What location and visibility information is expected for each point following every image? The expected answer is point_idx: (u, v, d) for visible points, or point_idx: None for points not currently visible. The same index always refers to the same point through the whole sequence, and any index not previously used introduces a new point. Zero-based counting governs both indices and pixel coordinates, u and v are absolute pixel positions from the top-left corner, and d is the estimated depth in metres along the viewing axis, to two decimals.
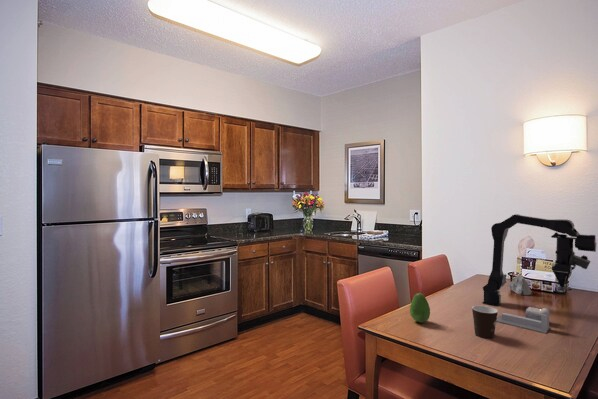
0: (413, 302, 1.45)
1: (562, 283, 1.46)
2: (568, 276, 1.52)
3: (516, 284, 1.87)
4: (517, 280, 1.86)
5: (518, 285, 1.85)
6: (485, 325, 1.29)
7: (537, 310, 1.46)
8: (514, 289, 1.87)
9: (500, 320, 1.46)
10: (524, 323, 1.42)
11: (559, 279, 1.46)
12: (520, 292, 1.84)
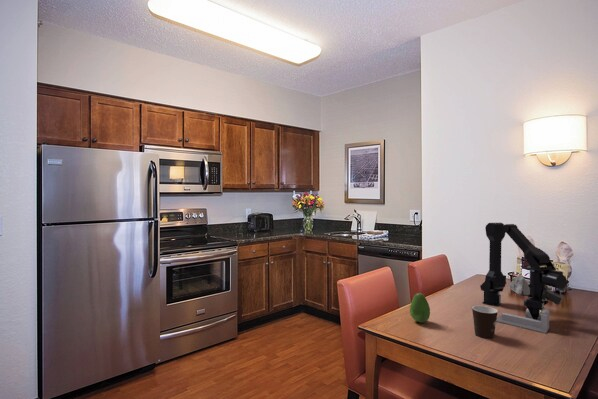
0: (413, 302, 1.45)
1: (535, 318, 1.43)
2: None
3: (516, 284, 1.87)
4: (517, 280, 1.86)
5: (519, 285, 1.85)
6: (485, 325, 1.29)
7: None
8: (514, 289, 1.87)
9: (500, 320, 1.46)
10: (524, 323, 1.42)
11: (532, 313, 1.44)
12: (520, 292, 1.84)
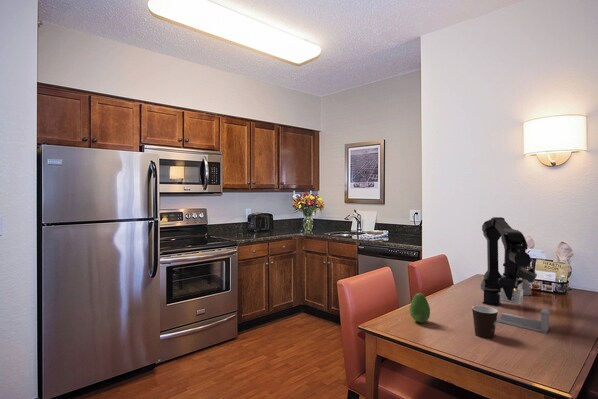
0: (413, 302, 1.45)
1: (509, 296, 1.43)
2: None
3: None
4: None
5: (519, 285, 1.85)
6: (485, 325, 1.29)
7: None
8: None
9: (500, 320, 1.46)
10: (524, 323, 1.42)
11: (506, 292, 1.43)
12: None
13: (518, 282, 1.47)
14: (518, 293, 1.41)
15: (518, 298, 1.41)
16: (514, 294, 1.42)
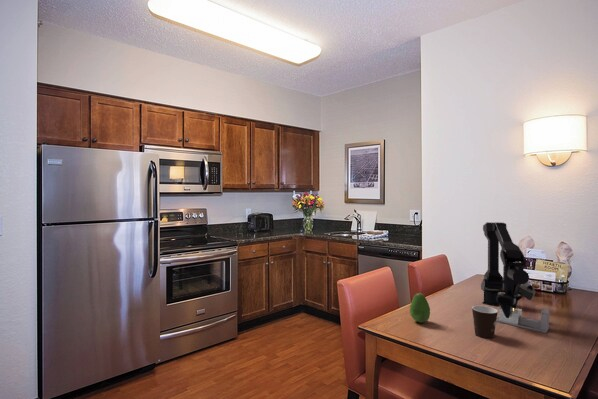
0: (413, 302, 1.45)
1: (507, 314, 1.42)
2: (516, 305, 1.48)
3: None
4: None
5: None
6: (485, 325, 1.29)
7: None
8: None
9: None
10: (524, 323, 1.42)
11: (504, 310, 1.42)
12: None
13: (518, 298, 1.48)
14: (516, 313, 1.42)
15: (516, 318, 1.42)
16: (512, 314, 1.43)
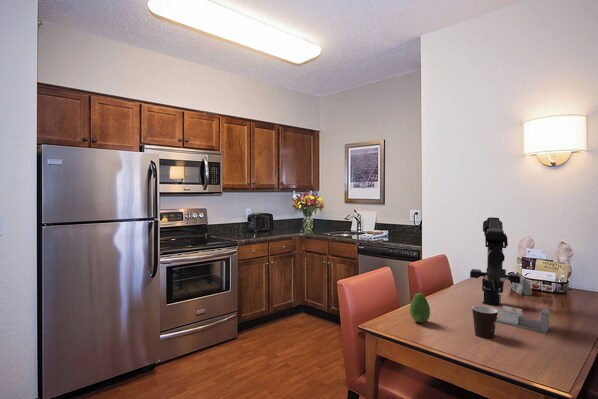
0: (413, 302, 1.45)
1: (492, 291, 1.50)
2: (495, 289, 1.49)
3: (517, 284, 1.87)
4: None
5: (519, 285, 1.85)
6: (485, 325, 1.29)
7: (510, 309, 1.46)
8: (515, 289, 1.87)
9: None
10: (524, 323, 1.42)
11: None
12: (521, 292, 1.84)
13: (496, 282, 1.48)
14: (516, 313, 1.42)
15: (516, 318, 1.42)
16: (512, 314, 1.43)
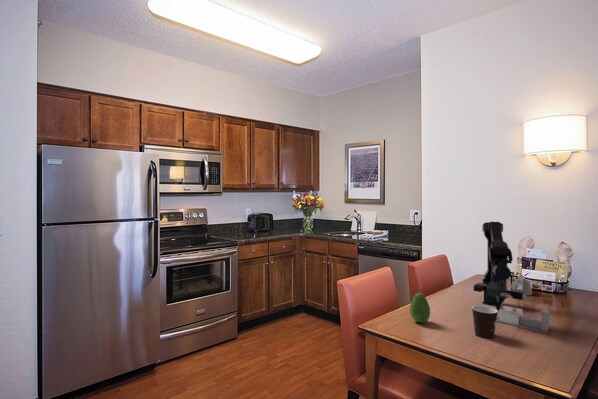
0: (413, 302, 1.45)
1: None
2: (498, 304, 1.48)
3: (517, 284, 1.87)
4: (518, 280, 1.86)
5: (519, 285, 1.85)
6: (485, 325, 1.29)
7: (511, 309, 1.46)
8: None
9: None
10: (524, 323, 1.42)
11: None
12: None
13: None
14: (517, 313, 1.42)
15: (517, 318, 1.42)
16: (513, 314, 1.43)
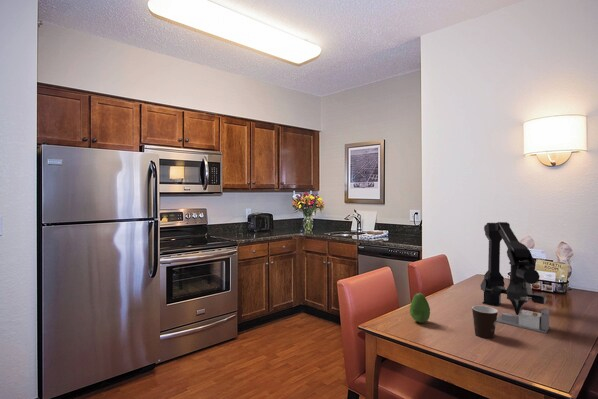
0: (413, 302, 1.45)
1: None
2: (517, 308, 1.43)
3: None
4: None
5: None
6: (485, 325, 1.29)
7: (530, 313, 1.41)
8: None
9: (500, 320, 1.46)
10: None
11: None
12: None
13: None
14: (537, 318, 1.37)
15: (537, 323, 1.37)
16: (533, 319, 1.38)
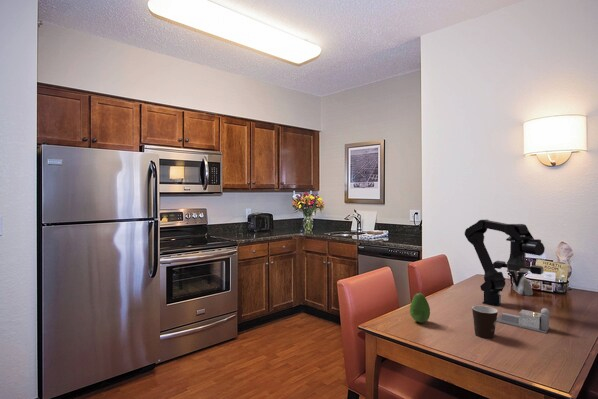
0: (413, 302, 1.45)
1: None
2: (517, 280, 1.56)
3: None
4: None
5: (520, 285, 1.85)
6: (485, 325, 1.29)
7: (530, 313, 1.41)
8: (516, 289, 1.87)
9: (500, 320, 1.46)
10: None
11: None
12: (521, 292, 1.84)
13: None
14: (537, 318, 1.37)
15: (537, 323, 1.37)
16: (533, 319, 1.38)
